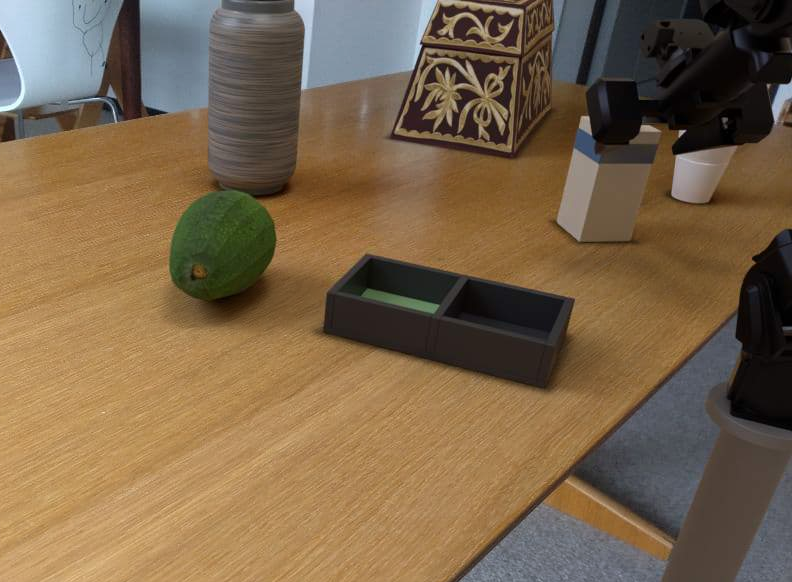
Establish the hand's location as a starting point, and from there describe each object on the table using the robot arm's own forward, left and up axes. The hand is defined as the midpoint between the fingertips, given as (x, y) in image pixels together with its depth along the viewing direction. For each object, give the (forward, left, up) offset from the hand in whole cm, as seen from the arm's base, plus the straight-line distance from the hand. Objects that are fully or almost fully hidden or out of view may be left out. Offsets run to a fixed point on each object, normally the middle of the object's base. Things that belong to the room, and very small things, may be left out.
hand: (635, 151), depth 97 cm
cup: (-8, -25, -11) cm, 28 cm away
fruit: (+33, +35, -11) cm, 50 cm away
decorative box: (+27, -47, -11) cm, 55 cm away
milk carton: (+2, -4, -11) cm, 12 cm away
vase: (+45, +3, -11) cm, 47 cm away
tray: (+11, +32, -11) cm, 36 cm away
